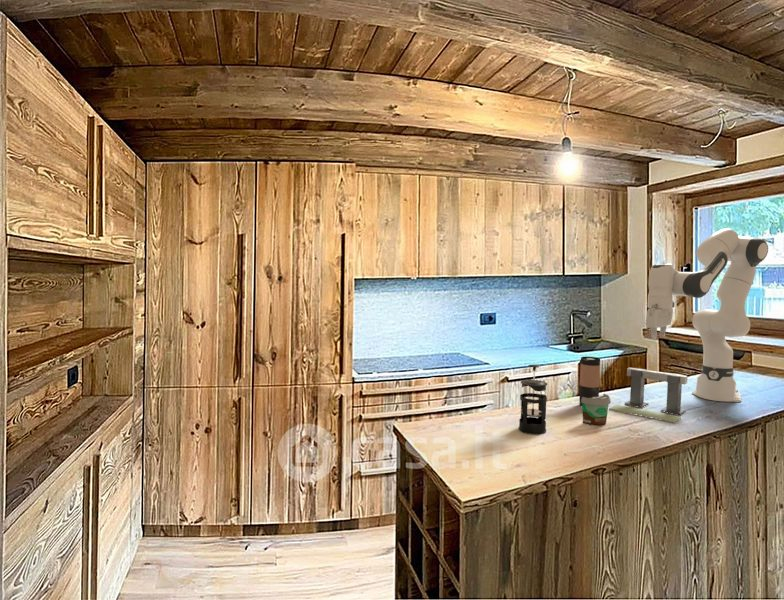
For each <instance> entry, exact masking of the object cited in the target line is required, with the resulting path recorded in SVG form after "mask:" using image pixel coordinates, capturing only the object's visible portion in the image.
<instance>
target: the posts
mask: <svg viewBox="0 0 784 600" xmlns="http://www.w3.org/2000/svg"><path fill="white" fill-rule="evenodd" d="M636 368H637V369H641V368H639V367H636ZM642 369H643V370H647V369H646V368H642ZM670 373H671V374H676V373H674V372H670ZM641 374H642V371H639V370H633V369H631V376H630V393H629V394H630V395H629V396H630V397H629V400H628V401H626V402H624V406H629V405H631V406H630V407H634V406H638V407H637V408H639V407H644V406H646V405H648V406H649V405H650V404H649V402H645V401H644V400H645V399H644V398H645V381H646V380H645V379H646V378H641ZM677 374H678V375H683V374H681V373H677ZM682 385H683V384H679V376H674V375H667V386H666V387H667V390H666V406H665V407H664V408H661V409H660V412H661V411H665V412H668V413H667V414H670V413H673V414H672V415H675V414H678V415H677V416H681V414H682V415H683V414H685V413H686V411H687V410H686V409H682V408H681V407H682V405H681V404H682V388H683V387H682ZM646 407H647V406H646ZM644 408H645V407H644ZM665 412H664V413H665ZM684 412H685V413H684Z"/></svg>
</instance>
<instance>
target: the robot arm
mask: <svg viewBox="0 0 784 600" xmlns="http://www.w3.org/2000/svg"><path fill="white" fill-rule="evenodd" d="M768 253H769V244H768V243H767V241H766V240H765V239H763V238H758V237H750V236H742V235H738V233H737V232H736V231H735V230H733V229H731V228H722V229H719V230H718V231H716V232H714V233H712V234H711V235H710V236H708V237H707V238H706V239H704V240H703V242H701V243H700V244H699V246H698V247H697V249H696V258H697V260H698V261H699V263H701V264H702V265H703V266H704V267H703V268H702V269H701V270H700V271H692V272H691V271H679V270H677V269H676V268H674V267H673V264H672V263H669V262H666V263H657V264H654V265H651V268H650V270H649V275H648V289H649V291H648V294H647V308H648V309H647V312H646V319H645V327H646V328H648V329H650V334H651V340H656V339H658V336H659V337H660V338H663V337H665V336H666V332H667V326H668V327H669V326H670V325H671V324H672V321H673V313H674V308H675V305H676V303H675V302H674V301H673V296H679V297H690V298H696V299H700V298H703V297H704V296H705V295H707V294H708V292H709V291H710V289H711V288H712V285H713V284H714V283H715V280H716V279H717V278H718V277H719V275H721V273H722V272H723V270H724V269H725V268H726V266H727V264H728V262H730V264H729V266H728V267H727V269H726V270H725V272H724V275H723V277H722V280H721V282H720V284H719V287H718V289H717V291H716V297H717V298H718V300H719V301H720V308H719V309H710V308H706V309H701V310H697V311H696V312H695V313H694V314H693V316H692V321H691V322H692V326H693V327H694V329H695V330H696V331H697V333H698V334H699V337H700V339H701V343H702V348H703V355H702V357H703V358H702V359H703V362H702V365H701V368H700V369H701V372H700V373H701V374H700V375H698V376H697V377H696V378H697V380H696V385H695V386H696V387H695V390H694V391H691V394H692V395H694V396H696V397H698V398H701V399H703V400H704V399H705V400H708V401H709V400H710V401H715V402H726V403H727V402H728V403H729V402H735V403H737V402H738V403H739V402H742V394H741V393H740V392H738V389H736V387H737V382H736V380H735V378H734V374H735V373H734V372H735V371H734V367H733V366H734V365H733V362H734V350H733V348H732V346H731V345H729V343H728V342H727V340H726V337H727V338H740V337H744V336H746V335H747V334H748V333H749V331H750V329H751V320H750V318H749V317H748V316H747V314H746V308H745V307H746V300H747V297H748V296H749V292H750V290H751V288H752V285H753V282H754V279H755V276H756V271H757V266H758V265H759V264H761V262H763V261H764V260H765V259H766V257H767V256H768ZM659 328H660V329H659ZM658 329H659V333H657V331H658Z"/></svg>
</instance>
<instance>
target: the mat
mask: <svg viewBox="0 0 784 600" xmlns="http://www.w3.org/2000/svg"><path fill="white" fill-rule="evenodd" d="M613 410H614V411H613ZM608 411H613V412H618V411H619V412H618V413H623V412H625V413H624V414H628V413H632V414H631V415H633V414H637V415H642V416H647V417H653V418H657V419H661V420H660V421H662V420H666V421H665V422H667V421H669V422H668V423H672V422H674V423H673V424H675V423H677V422H679V421H680V420H681V419H682V417H681V416H679V415H673V414H668V413H663V412H657V411H651V410H647V409H643V408H638V407H633V406H628V405H622V404H615V405H613V406H611V407H608ZM637 415H636V416H637ZM642 416H641V417H642ZM647 417H646V418H647ZM657 419H656V420H657ZM679 419H680V420H679ZM676 421H677V422H676Z"/></svg>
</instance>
